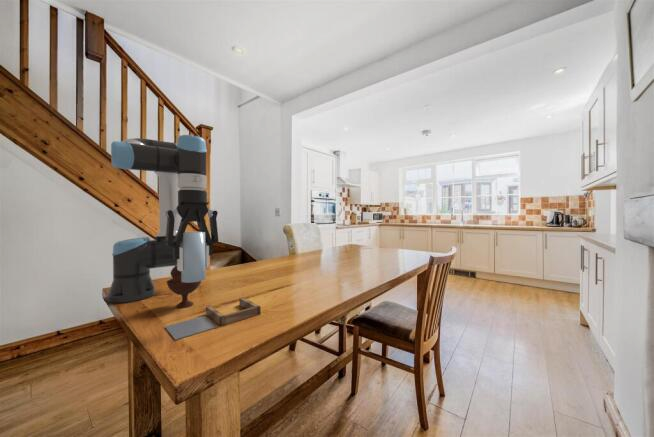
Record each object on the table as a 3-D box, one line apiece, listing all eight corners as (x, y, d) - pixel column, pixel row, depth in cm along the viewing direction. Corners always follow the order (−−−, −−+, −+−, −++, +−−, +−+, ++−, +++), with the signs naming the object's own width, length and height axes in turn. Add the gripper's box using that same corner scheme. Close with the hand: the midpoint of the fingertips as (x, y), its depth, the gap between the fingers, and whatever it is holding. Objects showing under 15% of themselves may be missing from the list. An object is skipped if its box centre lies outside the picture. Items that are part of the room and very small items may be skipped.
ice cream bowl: (187, 312, 85) (187, 267, 85) (159, 309, 88) (158, 266, 87) (208, 301, 96) (207, 262, 96) (182, 299, 98) (182, 261, 98)
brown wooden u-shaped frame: (206, 313, 84) (205, 306, 84) (242, 304, 93) (242, 297, 93) (221, 326, 75) (221, 317, 75) (260, 313, 84) (260, 306, 84)
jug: (185, 283, 70) (184, 233, 70) (175, 278, 76) (175, 231, 76) (209, 279, 75) (208, 232, 74) (198, 274, 81) (197, 230, 81)
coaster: (164, 327, 74) (164, 326, 74) (204, 316, 82) (204, 315, 82) (175, 340, 66) (175, 339, 66) (218, 327, 74) (218, 326, 74)
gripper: (156, 186, 65) (158, 276, 65) (230, 191, 79) (231, 265, 79) (150, 188, 70) (151, 271, 70) (220, 192, 84) (221, 262, 84)
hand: (193, 268), depth 75 cm, fingers closed on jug, 6 cm apart
